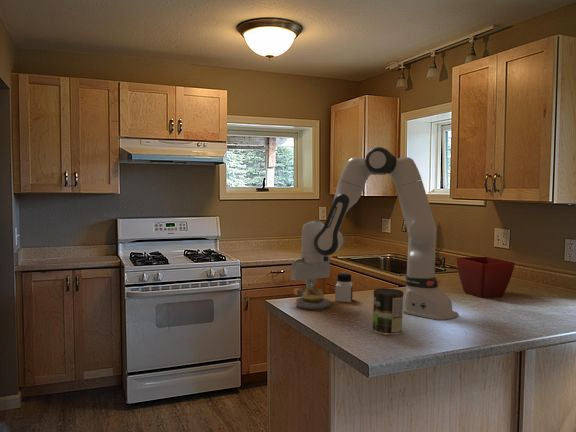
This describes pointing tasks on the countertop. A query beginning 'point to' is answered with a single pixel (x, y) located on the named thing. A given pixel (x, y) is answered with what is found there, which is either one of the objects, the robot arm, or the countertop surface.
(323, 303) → the plate
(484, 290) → the plant pot
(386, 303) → the coffee can
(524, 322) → the countertop surface
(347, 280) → the medicine bottle
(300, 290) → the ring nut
